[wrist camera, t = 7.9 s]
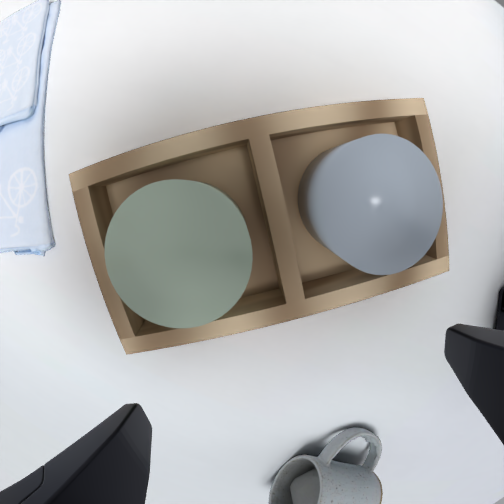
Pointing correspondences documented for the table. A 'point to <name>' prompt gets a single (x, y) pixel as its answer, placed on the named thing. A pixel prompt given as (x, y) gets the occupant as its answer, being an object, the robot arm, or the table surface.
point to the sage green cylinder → (179, 253)
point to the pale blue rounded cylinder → (372, 203)
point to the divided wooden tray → (257, 212)
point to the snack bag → (25, 127)
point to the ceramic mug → (330, 475)
